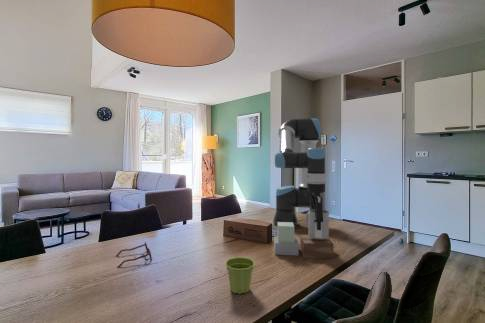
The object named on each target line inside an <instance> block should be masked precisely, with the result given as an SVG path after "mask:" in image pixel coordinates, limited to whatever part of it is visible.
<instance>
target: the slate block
mask: <svg viewBox="0 0 485 323" xmlns="http://www.w3.org/2000/svg"><path fill="white" fill-rule="evenodd" d="M273 240H274V242H273V243H274V245H273V246H274V247H273V248H274V255H275V256H276V255H277V256H280V255H281V256H299V254H300V253H299V246H300V243H299V241H298V239H297V236H295V235H294V243H292V242H278V235H274V238H273Z"/></svg>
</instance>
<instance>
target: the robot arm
mask: <svg viewBox="0 0 485 323" xmlns="http://www.w3.org/2000/svg"><path fill="white" fill-rule="evenodd" d="M277 135H278V138H279V151H278V152H275V154H274V166H275V167H276V168H278V169H279V168H280V169H300V170H301V171H300V172H301V174H300V176H301V177H300V178H301V179H300V181H301V182H300V183H299V185H298V188H296V186H295V185H283V186H281V187H280V186H279V187H277V188H276V190H275V191H276V192H275V214H274V216H273V220H272V222H273V223H272V224H273V225H275V226H276V227H278V222H293V224H294V227H297V226H298V224H299V220H298V217H297V214H296V208H307V209H309V210H311V209H315V219H316V220H314V222H315V237H318V238H322V222H323V210H324V209H323V197H322V194H323V193H325V192H326V183H325V182H326V148H324V147H317V143H318V142H319V140H320V139H321V138H322V126H321V122H320V120H319V118H313V117H311V118H309V117H307V118H292V119H288V120H287V121H285V122H283V123H282V124H281V126H280V127H279V130H278V134H277ZM294 139H298V142H299V143H300V144H301V150H300V151H301V152H300V151H299V152H295V143H294V141H295V140H294ZM321 193H322V194H321ZM318 218H320V219H318Z"/></svg>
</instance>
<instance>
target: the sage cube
mask: <svg viewBox="0 0 485 323" xmlns="http://www.w3.org/2000/svg"><path fill="white" fill-rule="evenodd" d="M277 236H278V242H292V243H294V236H295V226H294V224H293V222H278V226H277Z"/></svg>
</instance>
